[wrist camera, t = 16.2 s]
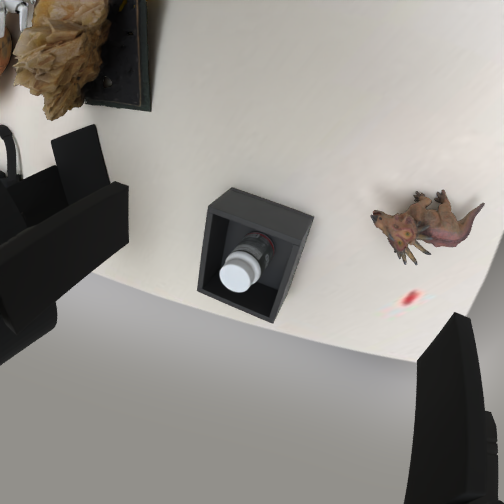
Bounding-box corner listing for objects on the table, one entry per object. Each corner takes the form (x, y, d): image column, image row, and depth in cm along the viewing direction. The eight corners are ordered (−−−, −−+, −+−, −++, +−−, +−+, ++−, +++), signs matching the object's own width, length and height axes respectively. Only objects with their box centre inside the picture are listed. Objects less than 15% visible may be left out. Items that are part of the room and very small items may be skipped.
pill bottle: (266, 267, 47) (244, 302, 40) (238, 249, 47) (211, 282, 40) (281, 242, 44) (259, 276, 37) (250, 224, 44) (224, 255, 37)
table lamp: (45, 133, 51) (-128, 224, 19) (147, 95, 40) (-143, 213, 8) (80, 247, 63) (-59, 363, 31) (184, 253, 52) (0, 446, 20)
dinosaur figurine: (375, 235, 39) (372, 275, 32) (372, 191, 36) (369, 222, 29) (476, 234, 33) (495, 274, 26) (479, 189, 31) (503, 221, 23)
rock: (152, -54, 23) (49, -45, 13) (155, 110, 43) (83, 172, 32) (45, -26, 26) (-41, 4, 16) (61, 101, 46) (-5, 151, 35)
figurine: (48, 24, 37) (23, 2, 42) (51, -2, 33) (25, -17, 37) (-25, 47, 28) (-31, 19, 33) (-25, 18, 24) (-31, -2, 29)
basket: (231, 187, 43) (207, 205, 38) (314, 216, 41) (301, 240, 36) (217, 266, 51) (196, 290, 46) (287, 294, 49) (273, 323, 43)
